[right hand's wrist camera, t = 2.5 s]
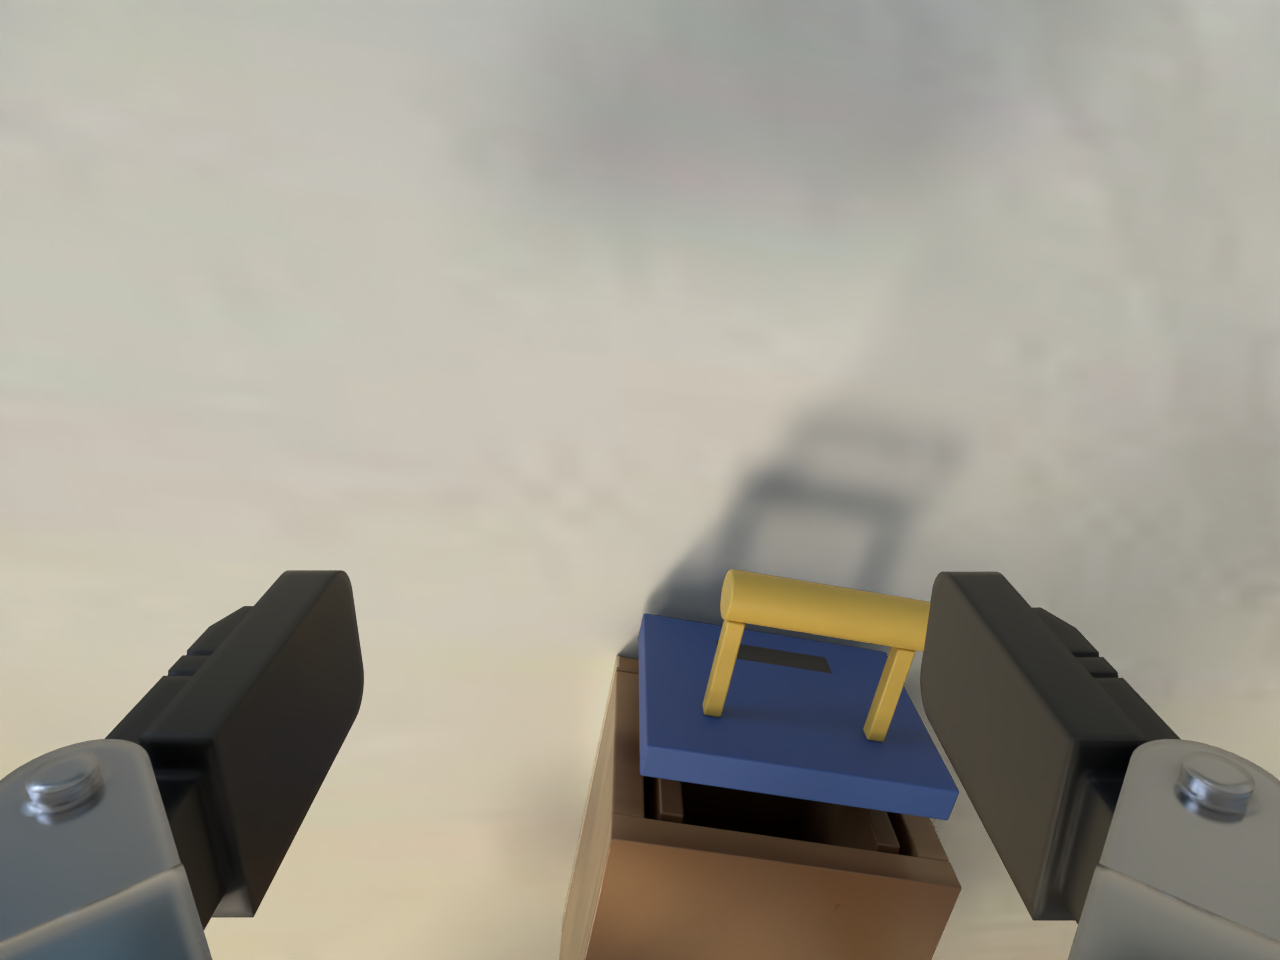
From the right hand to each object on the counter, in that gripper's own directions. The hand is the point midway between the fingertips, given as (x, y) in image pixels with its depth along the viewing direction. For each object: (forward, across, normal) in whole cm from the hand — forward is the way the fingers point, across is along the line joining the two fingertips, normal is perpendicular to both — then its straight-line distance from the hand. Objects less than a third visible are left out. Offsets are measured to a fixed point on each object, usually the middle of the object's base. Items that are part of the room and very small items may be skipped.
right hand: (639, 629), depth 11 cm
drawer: (+19, -4, +16) cm, 25 cm away
